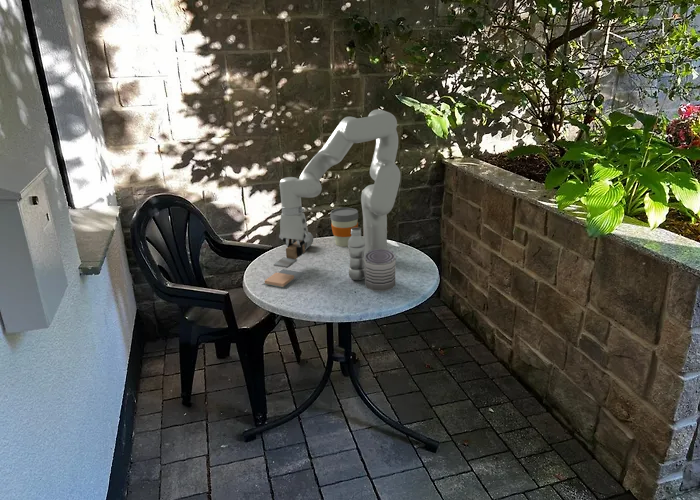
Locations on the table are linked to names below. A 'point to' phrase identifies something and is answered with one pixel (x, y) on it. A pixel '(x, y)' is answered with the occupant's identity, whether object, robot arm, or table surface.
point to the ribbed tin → (380, 270)
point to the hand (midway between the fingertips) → (295, 254)
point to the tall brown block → (289, 256)
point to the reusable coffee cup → (343, 224)
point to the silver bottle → (356, 255)
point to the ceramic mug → (306, 242)
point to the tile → (279, 279)
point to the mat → (295, 273)
